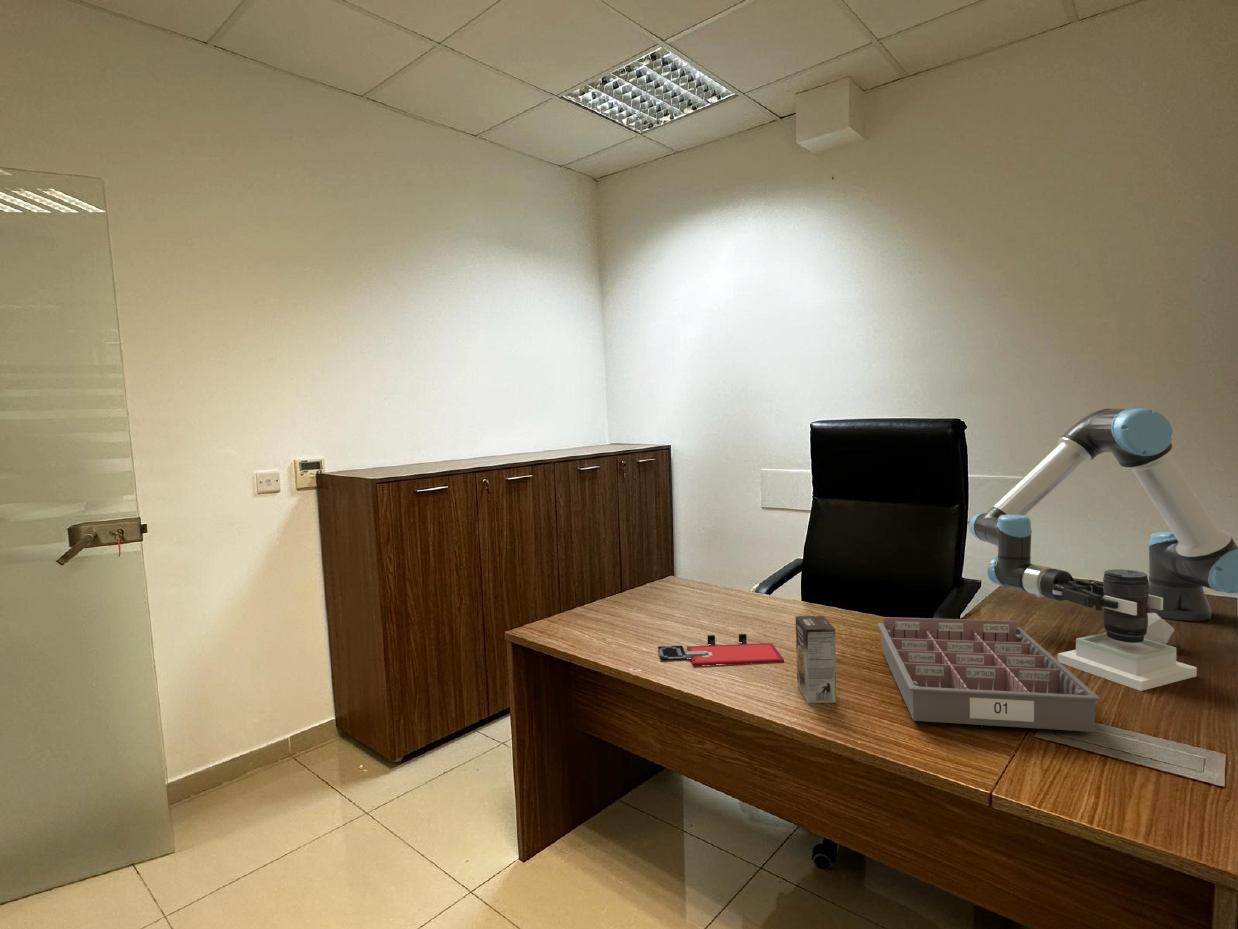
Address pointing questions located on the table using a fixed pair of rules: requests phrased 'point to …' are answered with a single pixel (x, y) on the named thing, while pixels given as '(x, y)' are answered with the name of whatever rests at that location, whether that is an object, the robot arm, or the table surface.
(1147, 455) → the robot arm
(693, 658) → the red board with handle
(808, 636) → the coffee box
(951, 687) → the organizer tray
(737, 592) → the table surface
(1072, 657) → the plinth
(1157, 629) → the white polyhedron
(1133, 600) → the camera lens
